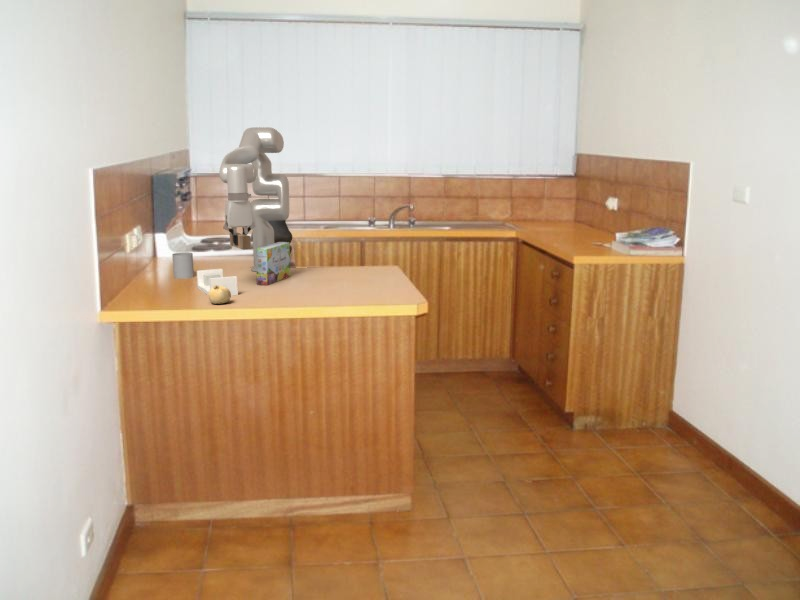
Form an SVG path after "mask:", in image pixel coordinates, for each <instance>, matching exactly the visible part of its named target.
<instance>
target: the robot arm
mask: <svg viewBox="0 0 800 600" xmlns="http://www.w3.org/2000/svg"><path fill="white" fill-rule="evenodd" d="M284 143H285V141H284V138H283V136H282V134H281V133H280V132H279V131H278V130H277V129H276V128H273V127H269V126H268V127H267V126H266V127H264V126H263V127H262V126H261V127H260V126H259V127H249V128H246V129H245V130H244V131H243V133H242V136H241V139H240V143H239V145H238V147H236V148H235V149H233V150H232V151H230V152H229V153H227V154H226V155H225V156H224V157H223V159H222V161H221V164H220V168H219V174H218V175H219V178H220V180H221V181H222V182H223V183H225V184H226V186H227V197H228V198H227V199H228V200H227V201H225V206H224V207H225V208H224V224H223V228H222V229H223V230H224V231H227V232H229V234H230V233H231V234H232V235H233V243H234V245H236V246H238V235H237V233H238V232H237V231H238V230H237V228H242V229H241V230H242V233H241V234H244V235H249V232H251V234H253V240H252V252H253V253H252V254H253V266H251V267H250V271H252V272H256V273H257V264H256V248H259V247H263V246H266V245H270V244H273V243H274V230H273V227H272V226H271V225H270V223H269V222H268V221H282V220H288V219H289V216H290V182H289V180H288V179H289V178H288V177H287V175H285V174H282V173H272V170H273V169H272V162H271V160H270V159H271V158H269V157H268V156H267V154H279V153H281V152H283V150H284V147H285V146H284V145H285V144H284ZM248 184H252V186H251V187H252V192H253V193H254V194H255V195H256V196H261V197H263V196H264V197H271V196H272V197H273V196H274V197H278V198H258V199H257V198H255V199H253V200H251V201H250V200H249V199H250V198H252V194H251V193H249V192H248Z"/></svg>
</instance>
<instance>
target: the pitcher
mask: <svg viewBox="0 0 800 600" xmlns="http://www.w3.org/2000/svg"><path fill="white" fill-rule="evenodd" d="M286 220H287V219H286ZM286 220H282V221H268V222H269V223H270V225H271V226H272V227H273V230H274V243H277V242H289V243H290V244H291V243H292V241H293V240H292V239H293V234H292V232H291V231H290V229H289V227H288V225H287V222H286ZM250 238H251V241H253V234H252V233H251V235H250Z"/></svg>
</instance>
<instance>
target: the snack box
mask: <svg viewBox="0 0 800 600" xmlns="http://www.w3.org/2000/svg"><path fill="white" fill-rule="evenodd" d="M290 244H291V243H289V242H277V243H273V244H270V245H266V246H263V247H259V248H256V264H257V272H256V285H259V286H268V285H271V284H275V283H277V282H279V280H280V281H282V280H284V278H285V279H287V278H286V277H288V276H290V277H291V267H290V266H291V263H290V262H291V260H290V259H291V258H290V257H291V255H290V254H291V253H290ZM288 278H289V277H288Z"/></svg>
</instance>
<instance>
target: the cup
mask: <svg viewBox="0 0 800 600" xmlns="http://www.w3.org/2000/svg"><path fill="white" fill-rule="evenodd" d="M171 255H172V256H171V257H172V270H173V279H176V280H186V279H192V278H194V277H195V275H194V274H195V273H194V271H195V270H194V255H193V252H176V253H172V254H171Z"/></svg>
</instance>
